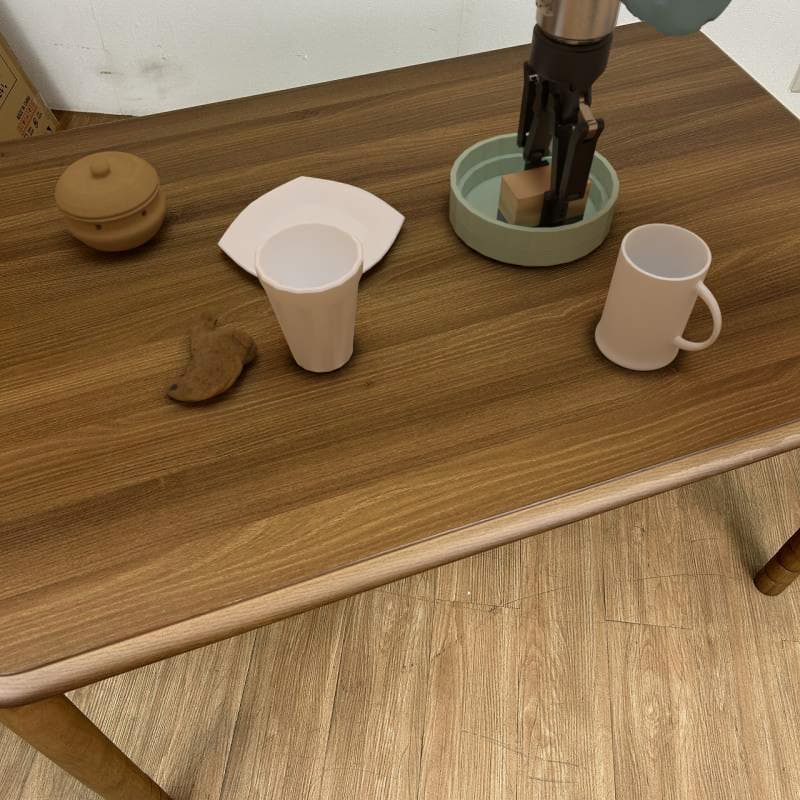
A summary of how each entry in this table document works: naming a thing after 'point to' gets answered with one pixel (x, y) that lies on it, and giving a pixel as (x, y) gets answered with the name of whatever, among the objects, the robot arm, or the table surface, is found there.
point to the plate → (313, 218)
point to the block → (532, 198)
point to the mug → (655, 297)
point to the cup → (313, 289)
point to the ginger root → (212, 360)
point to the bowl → (480, 229)
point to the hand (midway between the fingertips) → (539, 222)
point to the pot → (111, 200)
